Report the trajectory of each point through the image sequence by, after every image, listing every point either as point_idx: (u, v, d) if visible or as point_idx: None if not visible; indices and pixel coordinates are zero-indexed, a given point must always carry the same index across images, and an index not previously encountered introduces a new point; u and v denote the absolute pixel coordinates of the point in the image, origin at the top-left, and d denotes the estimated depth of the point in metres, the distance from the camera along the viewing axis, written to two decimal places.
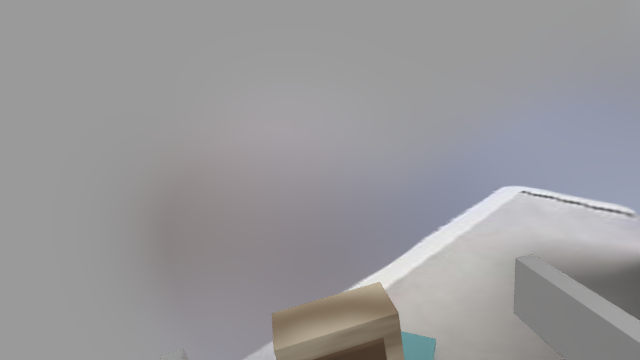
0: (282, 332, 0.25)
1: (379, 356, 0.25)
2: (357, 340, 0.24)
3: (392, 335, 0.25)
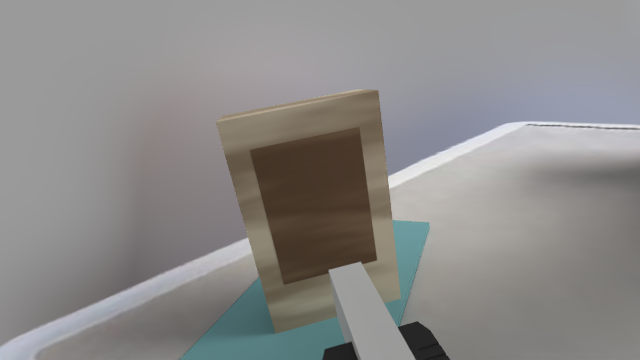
0: (230, 117, 0.20)
1: (354, 156, 0.20)
2: (325, 125, 0.19)
3: (371, 125, 0.20)
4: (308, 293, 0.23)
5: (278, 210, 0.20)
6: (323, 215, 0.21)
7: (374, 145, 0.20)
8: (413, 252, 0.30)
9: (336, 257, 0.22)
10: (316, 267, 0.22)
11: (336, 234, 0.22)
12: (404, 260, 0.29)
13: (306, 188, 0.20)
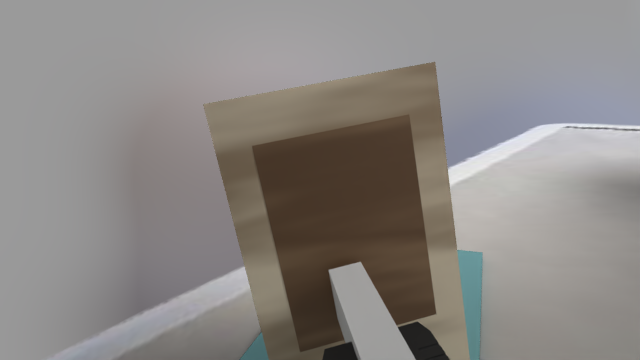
0: None
1: (402, 157, 0.14)
2: (361, 111, 0.13)
3: (425, 112, 0.14)
4: None
5: (292, 237, 0.14)
6: (358, 245, 0.14)
7: (430, 141, 0.14)
8: (472, 298, 0.22)
9: None
10: None
11: (376, 274, 0.15)
12: None
13: (333, 204, 0.14)
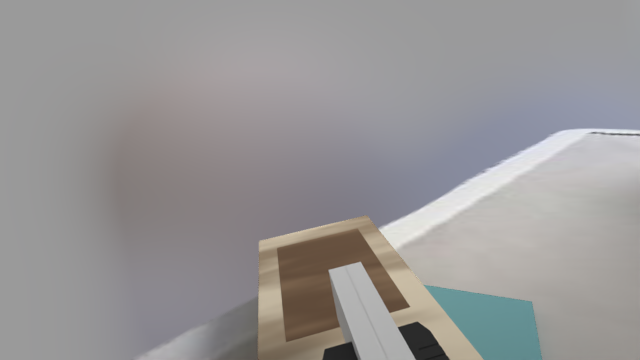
0: None
1: (357, 239, 0.25)
2: (332, 231, 0.27)
3: (366, 226, 0.27)
4: (318, 353, 0.15)
5: (291, 275, 0.22)
6: None
7: (372, 233, 0.25)
8: None
9: None
10: (329, 319, 0.17)
11: None
12: None
13: (317, 260, 0.23)
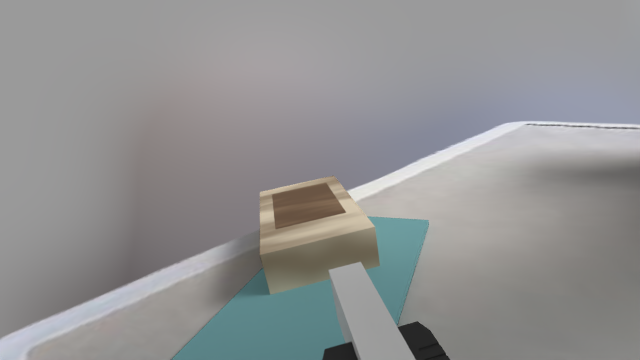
0: None
1: (324, 187, 0.38)
2: (309, 184, 0.40)
3: (331, 181, 0.40)
4: (292, 231, 0.28)
5: (280, 205, 0.35)
6: (306, 203, 0.34)
7: (334, 184, 0.38)
8: (412, 249, 0.29)
9: (315, 214, 0.31)
10: (300, 220, 0.30)
11: (314, 207, 0.33)
12: (403, 257, 0.28)
13: (297, 198, 0.36)
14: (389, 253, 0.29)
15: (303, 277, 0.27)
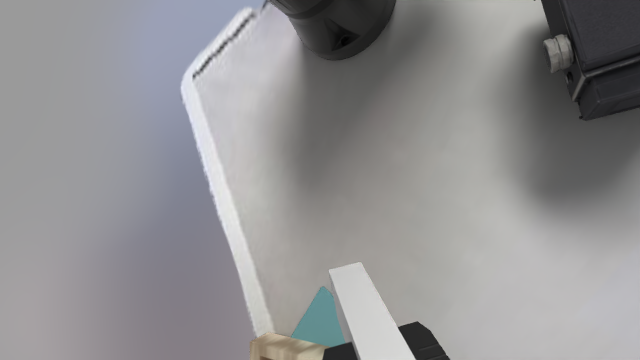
0: None
1: None
2: None
3: (260, 350, 0.44)
4: None
5: None
6: None
7: (267, 351, 0.43)
8: None
9: None
10: None
11: None
12: None
13: None
14: None
15: None
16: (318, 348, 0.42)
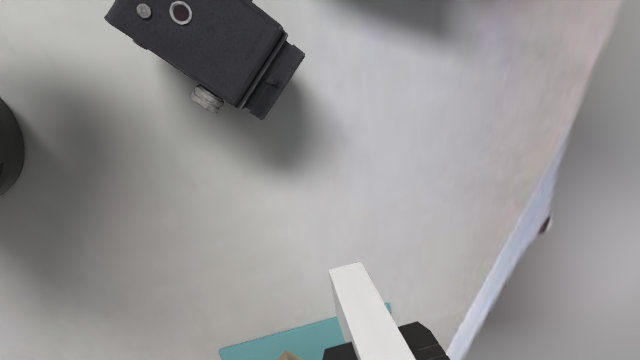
0: None
1: None
2: None
3: None
4: None
5: None
6: None
7: None
8: (262, 343, 0.46)
9: None
10: None
11: None
12: (272, 344, 0.46)
13: None
14: (272, 351, 0.46)
15: None
16: None
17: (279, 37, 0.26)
